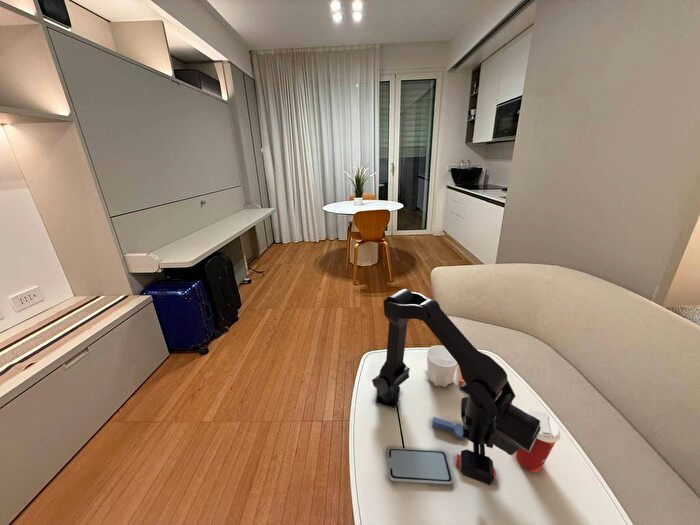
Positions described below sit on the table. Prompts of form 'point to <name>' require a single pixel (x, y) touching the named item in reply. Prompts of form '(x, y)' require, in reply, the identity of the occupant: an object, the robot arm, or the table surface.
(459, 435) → the blue spoon
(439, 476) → the smartphone
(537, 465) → the paper cup
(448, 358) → the cup
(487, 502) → the table surface
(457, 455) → the red spoon
